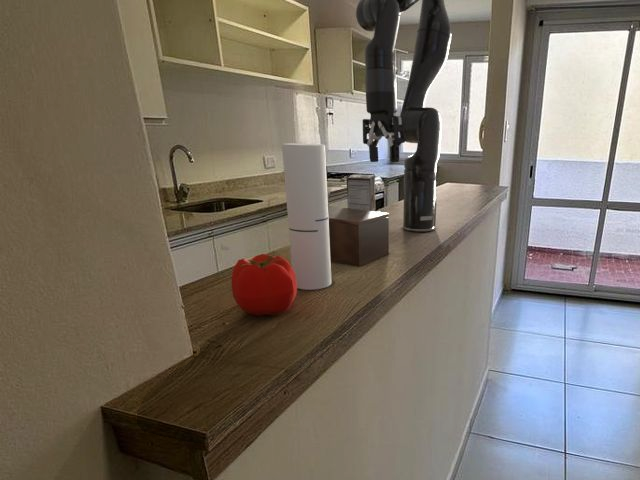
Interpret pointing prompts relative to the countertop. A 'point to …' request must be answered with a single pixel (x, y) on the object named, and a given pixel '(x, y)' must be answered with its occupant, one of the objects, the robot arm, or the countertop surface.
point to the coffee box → (361, 192)
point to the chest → (359, 242)
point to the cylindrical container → (308, 214)
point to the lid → (352, 215)
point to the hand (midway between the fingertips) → (384, 162)
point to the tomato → (264, 285)
